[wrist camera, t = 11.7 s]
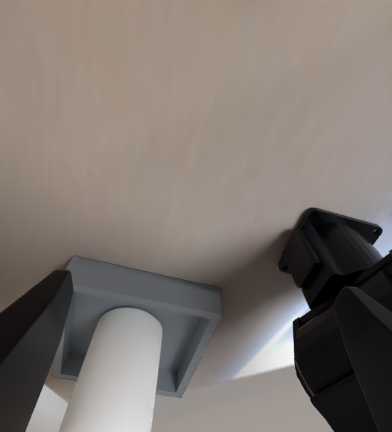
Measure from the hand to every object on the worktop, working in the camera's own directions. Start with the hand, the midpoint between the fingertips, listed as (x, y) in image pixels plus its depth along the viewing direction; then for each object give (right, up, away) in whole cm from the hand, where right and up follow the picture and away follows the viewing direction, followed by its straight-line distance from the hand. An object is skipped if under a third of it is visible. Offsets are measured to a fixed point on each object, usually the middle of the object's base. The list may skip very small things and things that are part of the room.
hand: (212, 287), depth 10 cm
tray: (-7, -8, +20) cm, 23 cm away
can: (-7, -9, +20) cm, 23 cm away
